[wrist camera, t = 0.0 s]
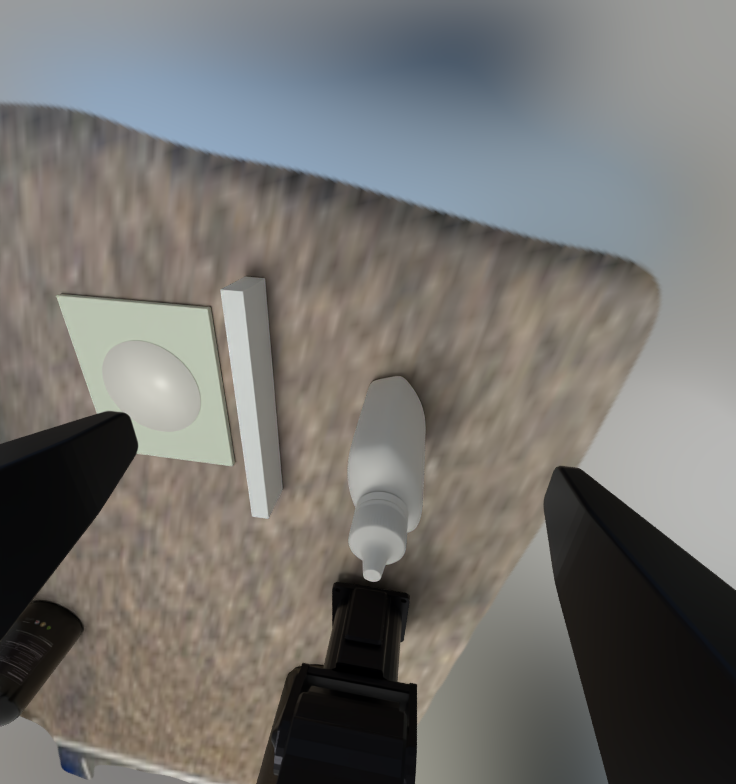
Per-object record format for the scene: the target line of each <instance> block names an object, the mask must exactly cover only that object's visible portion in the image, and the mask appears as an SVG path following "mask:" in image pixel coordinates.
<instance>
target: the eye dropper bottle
mask: <svg viewBox="0 0 736 784" xmlns="http://www.w3.org/2000/svg"><path fill="white" fill-rule="evenodd" d="M425 435H426V424H425V416H424V411H423V407H422V404H421V402H420V400H419V397H418V396H417V394H416V392H415V391H414V389H413V388H412V386H411V385H410V384H409V382H408V381H407V380H406V379H405V378H403V377H401V376H394V377H388V378H383V379H379V380H375V381H373V382H371V384H370V386H369V388H368V391H367V395H366V398H365V401H364V404H363V407H362V411H361V414H360V417H359V421H358V424H357V427H356V430H355V434H354V437H353V441H352V445H351V448H350V453H349V459H348V484H349V490H350V494H351V497H352V500H353V503H354V505H355V507H356V508H355V513H354V517H353V521H352V525H351V529H350V534H349V538H348V542H349V543H348V544H349V547H350V549H351V551H352V552H353V553H354V554H355V555H356V556H357V557H358V558H359V559H361V560H362V561H363V577H364V578H365V579H366V580H368V581H371V582H376V581H379V580H380V579H381V576H382V573H383V571H384V568H385V565H389V564H392V563H394V562H396V561H398V560H400V559H401V558H402V557H403V555H404V553H405V551H406V542H407V533H408V532H411V531H413V530H414V529H415V528H416V527H417V526H418V523H419V521H420V518H421V514H422V507H423V489H424V463H425Z"/></svg>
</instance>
